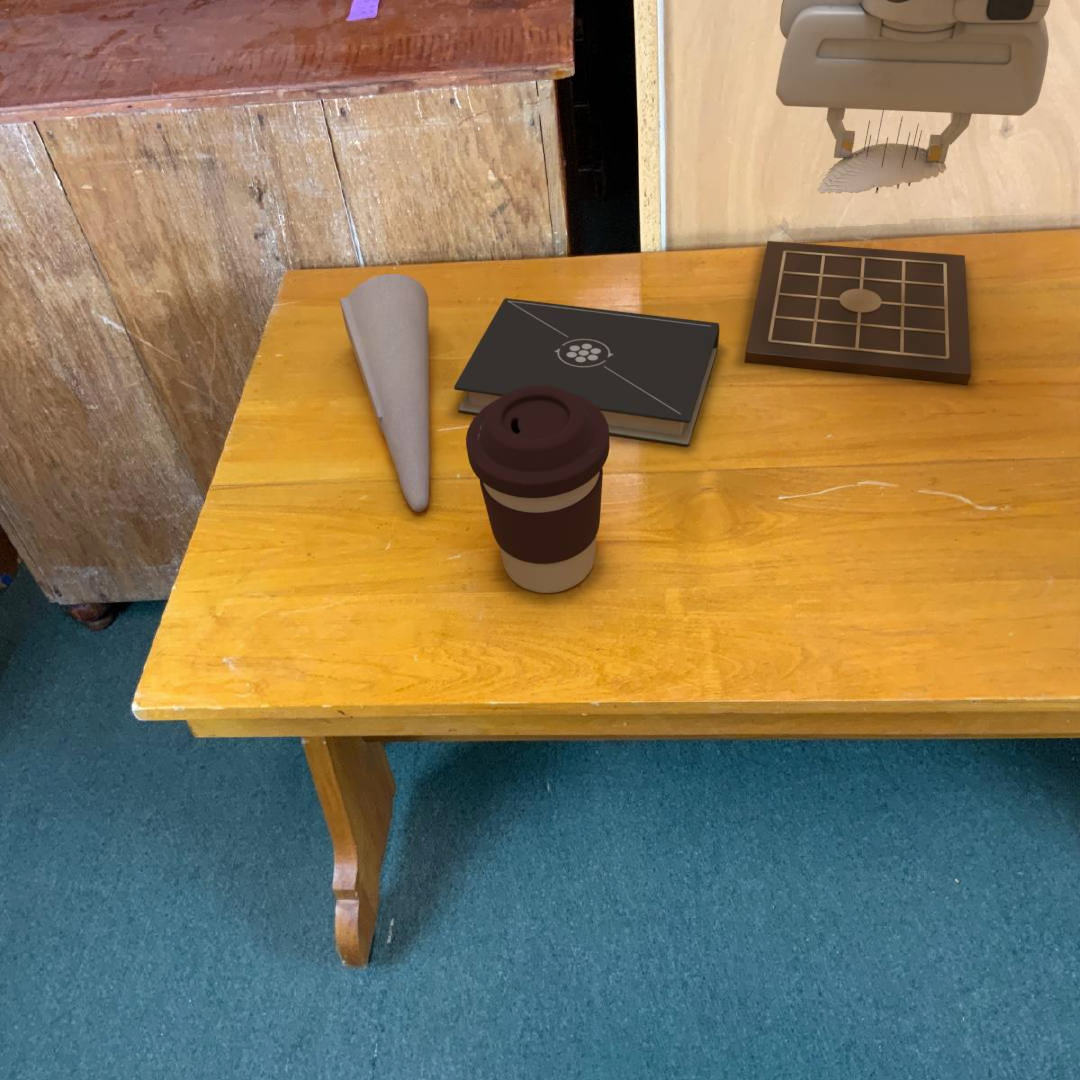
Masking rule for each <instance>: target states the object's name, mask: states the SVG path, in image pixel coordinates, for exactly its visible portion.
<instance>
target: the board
mask: <svg viewBox="0 0 1080 1080" xmlns="http://www.w3.org/2000/svg"><path fill="white" fill-rule="evenodd" d="M761 267H762V268H761V271H760V277H759V283H758V286H757V287H758V288H757V292H756V298H755V302H754V308H753V313H752V319H751V323H750V328H749V333H748V338H747V344H746V349H745V353H744V354H745V355H744V363H750V364H759V365H769V366H779V367H789V368H790V367H791V368H799V369H811V370H821V371H830V372H839V373H849V374H857V375H858V374H860V375H871V376H880V377H889V378H897V379H909V380H916V381H917V380H918V381H928V382H937V383H948V384H958V385H966V386H967V385H969V382H970V379H971V378H972V377H971V376H972V365H971V364H972V363H971V346H970V343H971V342H970V328H969V327H970V326H969V324H970V323H969V308H968V288H967V271H966V269H967V268H966V255H964V254H951V253H936V252H925V251H924V252H923V251H911V250H910V251H909V250H898V249H897V250H896V249H883V248H871V247H869V248H868V247H857V246H843V245H842V246H841V245H828V244H816V243H815V244H814V243H801V242H788V241H787V242H786V241H775V240H774V241H773V240H767V242H766V247H765V253H764V257H763V263H762V266H761Z"/></svg>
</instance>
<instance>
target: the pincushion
mask: <svg viewBox="0 0 1080 1080" xmlns="http://www.w3.org/2000/svg"><path fill="white" fill-rule="evenodd" d="M884 112H885V110H882V114H881V118H880V123H879V129H878V133H877V139H876V143H875V144H871V138H872V134H870V135H869V141H868V144H867V139H868V133H869V129H870V124H871V120H869V121H868V126H867V129H866V130H867V131H866V137H865V142H864V147H862V148H860V149H858V150H855V151H852V156H851V158H841V159H840V160H839V161H838V162H836V163H834V164H833V166H832V167H831V168H829V169H828V171H827V172H826V174H825V175H824V176H825V177H824V178H823V179H822V181H821V182H820V184H819V186H818V188H817V191H818V192H819V193H820V194H825V193H828V194H832V193H835V194H842V193H851V194H853V193H855V194H858V193H862V192H868V191H871V190H872V189H873V188H876V190H875V194H879V193H878V192H879V188H884V187H885V188H891V187H892V188H893V187H894V186H896V190H899V189H900V185H901V184H903V183H905V184H907V186H908V187H910V186H911V183H920V182H922V181H923V180H924V179H926V180H929V179H931V178H932V177H933V178H937V177H939V175H940V174H944V173H945V171H946V170H947V166H946V163H945V162H944V163H926V152H927V148H925V147H921V146H920V141H921V138H922V137H921V136H922V133H923V130H921V131H920V135H919V138H918V143H917V145H915V143H916V137H917V134H918V129H919V125H920V124H919V123H917V126H916V131H915V136H914V139H913V144H909V141H910V137H911V132H908V136H907V142H906V144H905V143H898V141H899V136H900V131H901V127H902V121H903V116H901V119H900V124H899V128H898V133H897V138H896V143H895V142H894V143H893V142H888V141H889V136H887V138H886V143H879V137H880V132H881V125H882V121H883V116H884ZM866 144H867V145H868V146H866ZM870 144H871V145H870Z"/></svg>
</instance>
